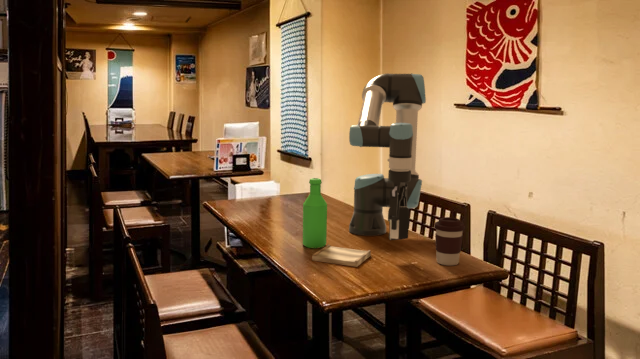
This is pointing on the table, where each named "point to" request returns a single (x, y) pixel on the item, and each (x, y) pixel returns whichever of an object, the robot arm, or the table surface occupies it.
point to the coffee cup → (448, 240)
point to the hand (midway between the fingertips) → (397, 235)
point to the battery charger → (402, 223)
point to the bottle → (315, 217)
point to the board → (341, 256)
